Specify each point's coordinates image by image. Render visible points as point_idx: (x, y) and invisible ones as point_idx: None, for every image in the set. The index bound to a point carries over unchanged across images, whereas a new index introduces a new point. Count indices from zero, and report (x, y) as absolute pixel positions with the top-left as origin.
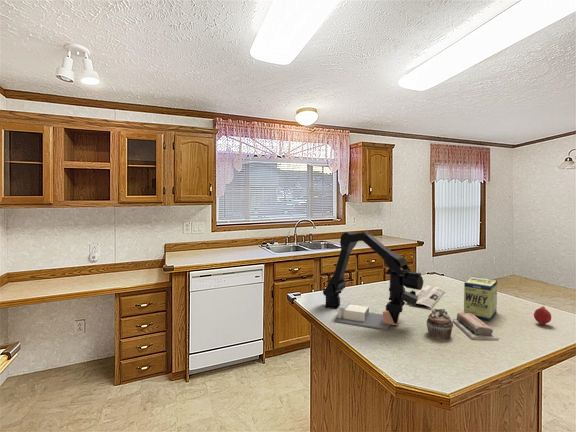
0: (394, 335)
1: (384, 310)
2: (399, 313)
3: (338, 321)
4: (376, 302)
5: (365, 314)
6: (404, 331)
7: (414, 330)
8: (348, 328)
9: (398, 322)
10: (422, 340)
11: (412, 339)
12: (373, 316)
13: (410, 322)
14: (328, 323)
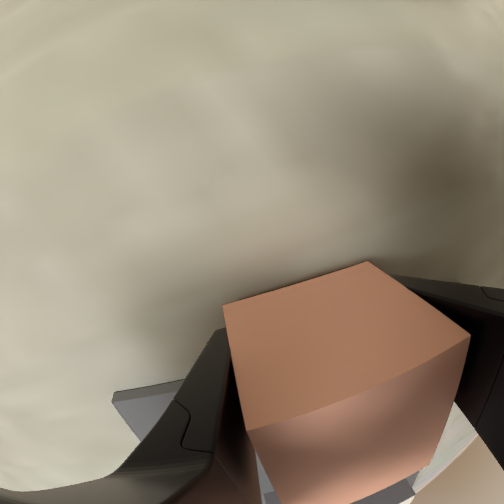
0: (500, 208)
1: (384, 485)
2: (228, 372)
3: (412, 482)
4: (16, 490)
5: (398, 488)
6: (423, 154)
7: (345, 63)
8: (461, 426)
9: (291, 288)
10: (466, 11)
11: (493, 75)
12: (259, 479)
13: (112, 183)
14: (425, 480)
